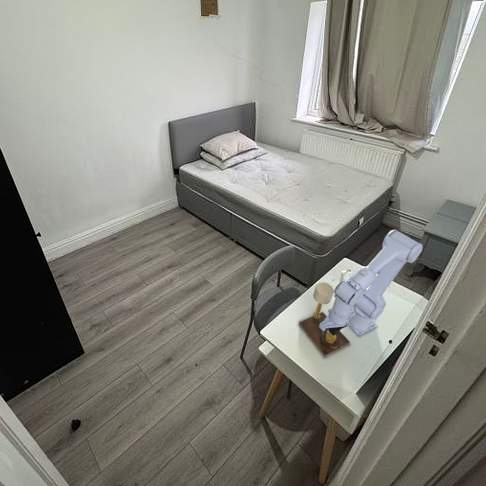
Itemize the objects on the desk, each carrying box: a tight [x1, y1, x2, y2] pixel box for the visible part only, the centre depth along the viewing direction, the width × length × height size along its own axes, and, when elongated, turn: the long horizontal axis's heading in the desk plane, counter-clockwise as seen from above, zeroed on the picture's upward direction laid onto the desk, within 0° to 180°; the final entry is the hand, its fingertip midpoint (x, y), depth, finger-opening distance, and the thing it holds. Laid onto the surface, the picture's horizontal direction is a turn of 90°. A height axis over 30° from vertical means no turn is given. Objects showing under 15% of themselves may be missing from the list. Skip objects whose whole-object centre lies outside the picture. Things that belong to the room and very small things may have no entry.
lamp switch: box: [325, 332, 336, 344], centre depth 108 cm, size 4×4×2 cm
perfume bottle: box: [338, 267, 354, 284], centre depth 125 cm, size 5×4×15 cm
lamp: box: [312, 281, 335, 319], centre depth 112 cm, size 6×6×17 cm
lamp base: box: [298, 311, 351, 358], centre depth 112 cm, size 12×15×4 cm
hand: (332, 332), depth 106 cm, fingers closed
